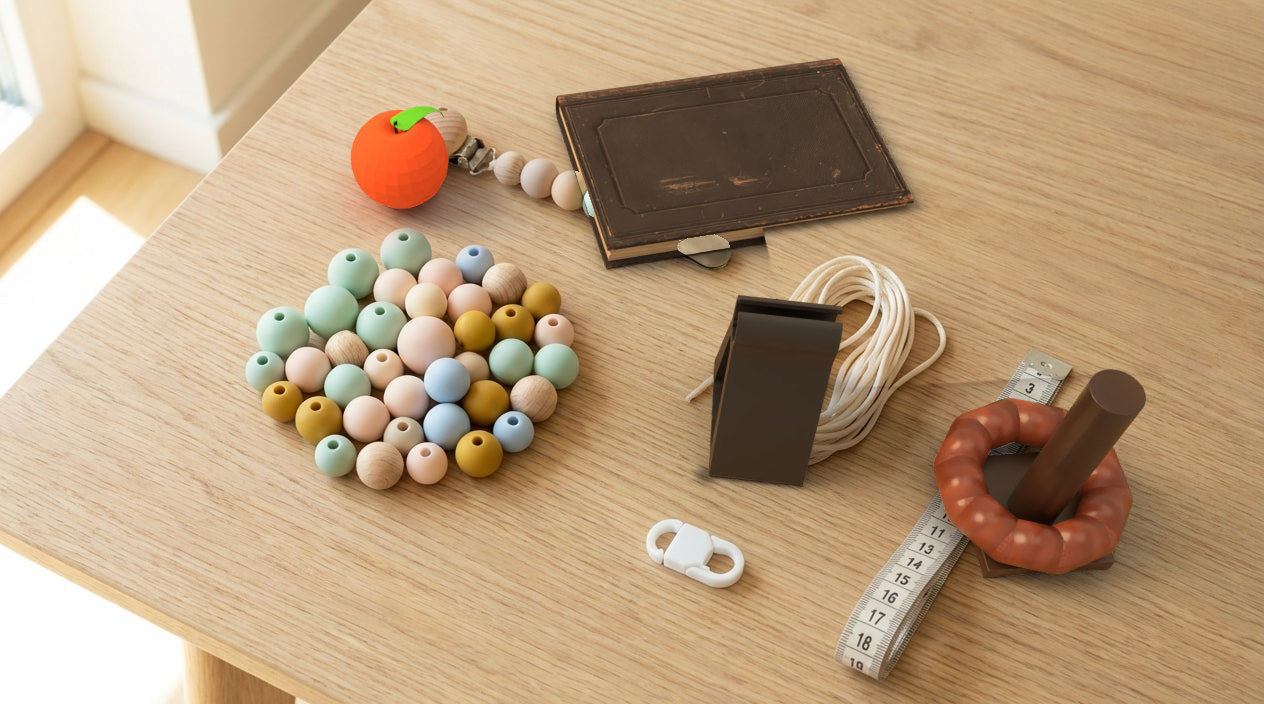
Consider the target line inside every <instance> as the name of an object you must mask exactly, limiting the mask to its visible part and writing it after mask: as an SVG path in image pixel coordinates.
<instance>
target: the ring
mask: <svg viewBox="0 0 1264 704" xmlns="http://www.w3.org/2000/svg"><path fill="white" fill-rule="evenodd" d="M1068 411H1069V409H1065V408H1063V407H1060V406H1054V405H1050V404H1049V405H1048V404H1045V403H1040V402H1034V401H1029V400H1025V399H1020V398H1015V397H1005V398H1001V399H998V400H996V401H993V402H991V403H988V404H986V405H982V406H980V407H977V408H974V409H972V410H970V411H966V412H964V413H962V414H960V415H958V416H957V417H955V419H954V420H953V422H952V423H951V425H950V427H949V429H948V431H947V433H946V435H945V437H944V439H943V440H942V443H941V445H940V447H939V448H938V451H937V453H936V454H935V456H934V460H933V463H932V464H933V465H932V469H933V474H934V478H935V481H936V485H937V488H938V491H939V495H940V498H941V502H942V505H943V509H944V512H945V515H946V517H947V519H948V521H949V522H950V523H951V524H952V525H953V526H954V527H955V528H956V529H957V530H958V531H959V532H961V533H962V534H963V535H964V536H965V537H967V539H968V540H969V541H971V543H972V544H973V543H975V544H976V545H977V546H978V547H979V548H980V549H981V550H983V551H984V552H985V553H986V554H987V555H988V556H989V557H991V558H992V559H993V560H995V561H997V562H999V563H1003V564H1007V565H1012V566H1017V567H1021V568H1026V569H1030V570H1035V571H1040V572H1044V573H1043V574H1049V575H1062V574H1066V573H1069V571H1070V572H1072V571H1071V570H1074V569H1076V568H1078V567H1081V566H1083V565H1086V564H1088V563H1090V562H1093V561H1095V560H1097V559H1100V558H1102V557H1105V556H1107V555H1108V554H1110V553H1111V552H1112V553H1113V552H1114V551H1115V550H1116V548H1117V547H1118V545H1119V543H1120V539H1121V536H1122V534H1123V532H1124V529H1125V526H1126V523H1127V521H1128V518H1129V516H1130V513H1131V510H1132V508H1133V504H1134V497H1133V493H1132V489H1131V487H1130V485H1129V482H1128V480H1127V477H1126V474H1125V472H1124V469H1123V467H1122V464H1121V461H1120V460H1119V457H1118V454H1117V452H1116V449H1115V447H1114V446H1113V447H1112V449H1111V450H1110V451H1109V452H1108V454H1107V455H1106V456H1105V458H1104V459H1103V460H1102V461H1101V463H1100V464H1099V465H1098V467H1097V468H1096V469H1095V470H1094V472H1093V473H1092V474H1091V476H1090V477H1089V478H1088V479H1087V481H1086V482H1085V483H1084V484H1083V486H1082V487H1081V488H1080V490H1079V492H1080V495H1081V501H1080V503H1079V506H1078V508H1077V511H1076V513H1075V515H1074V517H1072V518H1070V519H1067V520H1065V521H1063V522H1060V523H1058V524H1055V525H1053V526H1049V525H1045V524H1040V523H1035V522H1031V521H1026V520H1021V519H1018V518H1016V517H1015V516H1014V515H1013V514H1012V513H1011V512H1009V511H1008V510H1007V509H1006V508H1005V507H1003V506H1002V505H1001V504H1000V503H999V502H998V501H996V500H995V499H994V498H993V497H992V496H991V495H990V493H989V490H988V487H987V484H986V481H985V477H984V474H983V471H982V468H983V466H984V463H985V461H986V459H987V457H988V455H990V454H991V453H990V452H992V451H996V450H998V449H1000V448H1002V447H1006V446H1008V445H1010V444H1016V445H1021V446H1026V447H1031V448H1036V449H1041V450H1042V448H1043V447H1044V446H1045V444H1046V443H1047V441H1048V440H1049V438H1050V437H1051V435H1052V434H1053V433H1054V431H1055V430H1056V428H1057V427H1058V425H1059V424H1060V422H1061V421H1062V420H1063V418H1064V417H1065V415H1066V414H1067V412H1068Z"/></svg>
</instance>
